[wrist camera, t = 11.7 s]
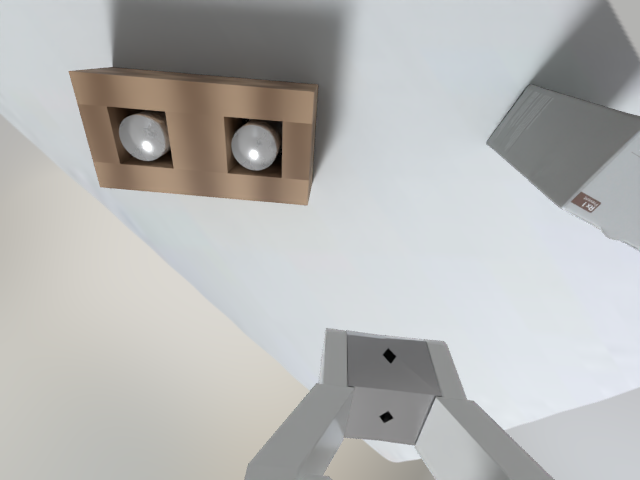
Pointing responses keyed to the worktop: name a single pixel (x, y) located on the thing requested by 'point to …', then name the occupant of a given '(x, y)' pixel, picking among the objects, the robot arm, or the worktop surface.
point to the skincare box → (577, 158)
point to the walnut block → (198, 132)
